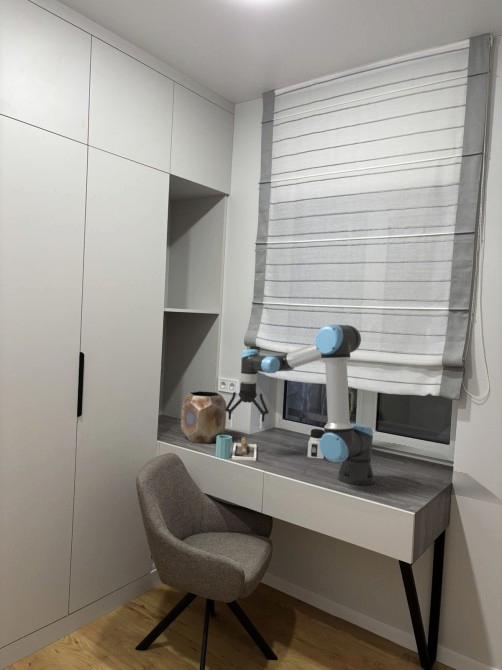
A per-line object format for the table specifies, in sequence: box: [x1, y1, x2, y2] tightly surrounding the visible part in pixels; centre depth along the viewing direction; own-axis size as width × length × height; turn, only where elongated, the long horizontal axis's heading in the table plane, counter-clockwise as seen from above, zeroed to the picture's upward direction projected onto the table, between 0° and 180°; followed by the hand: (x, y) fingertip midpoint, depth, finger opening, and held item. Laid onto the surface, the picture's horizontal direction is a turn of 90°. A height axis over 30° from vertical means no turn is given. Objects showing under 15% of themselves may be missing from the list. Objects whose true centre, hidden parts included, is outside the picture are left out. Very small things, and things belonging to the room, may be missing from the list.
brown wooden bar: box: [240, 436, 248, 456], centre depth 250 cm, size 6×3×18 cm
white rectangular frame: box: [231, 442, 257, 462], centre depth 244 cm, size 24×11×2 cm, turn 179°
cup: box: [215, 434, 233, 459], centre depth 236 cm, size 7×7×10 cm
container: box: [307, 428, 325, 460], centre depth 249 cm, size 8×8×13 cm
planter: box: [180, 390, 227, 444], centre depth 269 cm, size 22×24×24 cm
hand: (245, 427), depth 242 cm, fingers open, 13 cm apart
